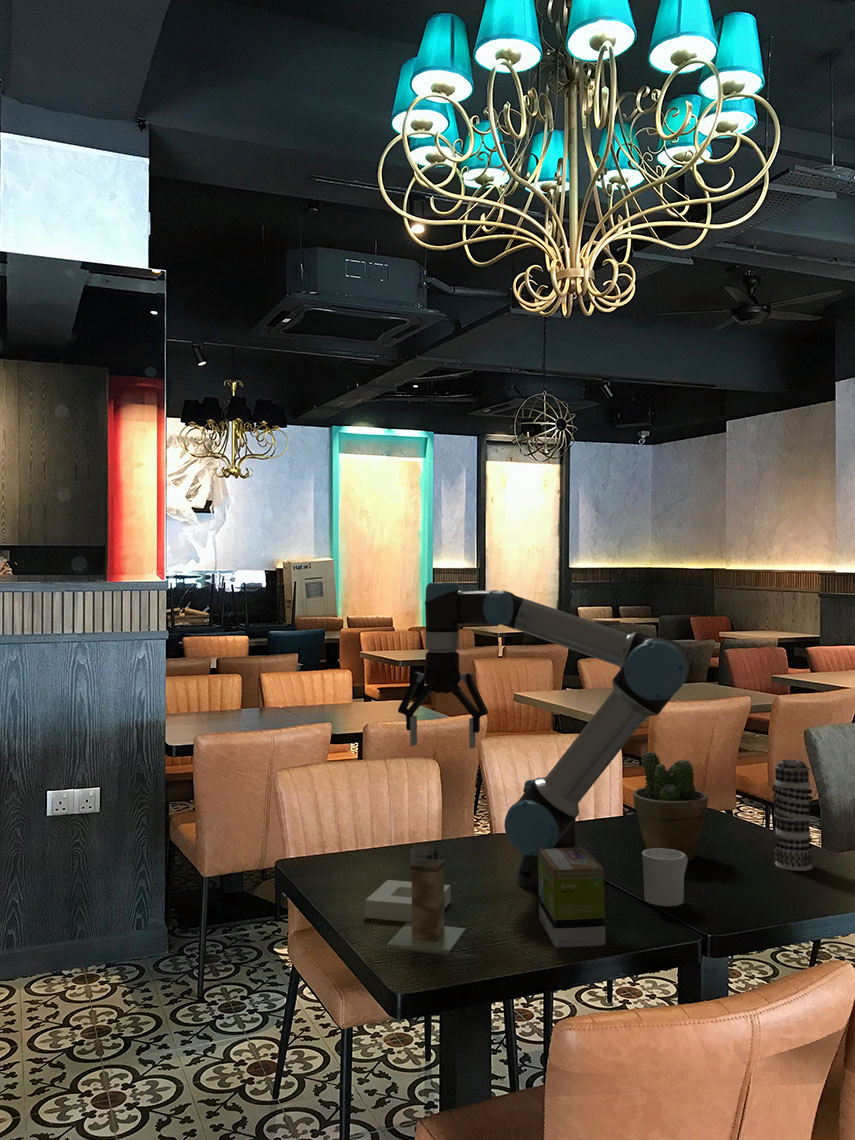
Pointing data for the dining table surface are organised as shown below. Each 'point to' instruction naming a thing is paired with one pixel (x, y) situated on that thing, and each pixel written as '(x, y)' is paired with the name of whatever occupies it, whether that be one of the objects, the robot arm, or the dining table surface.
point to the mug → (664, 877)
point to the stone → (423, 853)
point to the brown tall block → (427, 899)
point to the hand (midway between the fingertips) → (442, 746)
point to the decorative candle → (792, 816)
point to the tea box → (571, 897)
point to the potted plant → (670, 806)
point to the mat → (442, 946)
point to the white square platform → (395, 901)
